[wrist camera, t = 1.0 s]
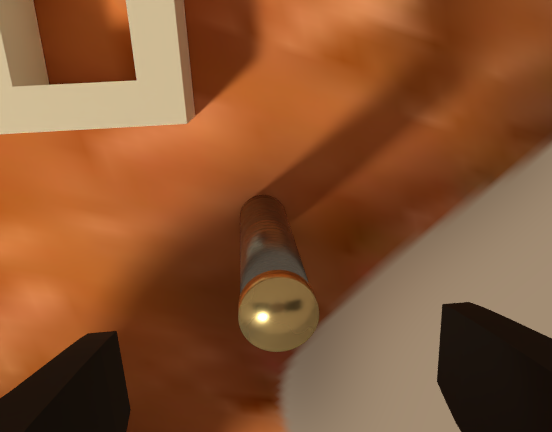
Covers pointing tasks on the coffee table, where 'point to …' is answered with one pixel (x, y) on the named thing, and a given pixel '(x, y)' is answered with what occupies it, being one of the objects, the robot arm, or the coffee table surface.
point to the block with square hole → (99, 95)
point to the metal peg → (272, 280)
